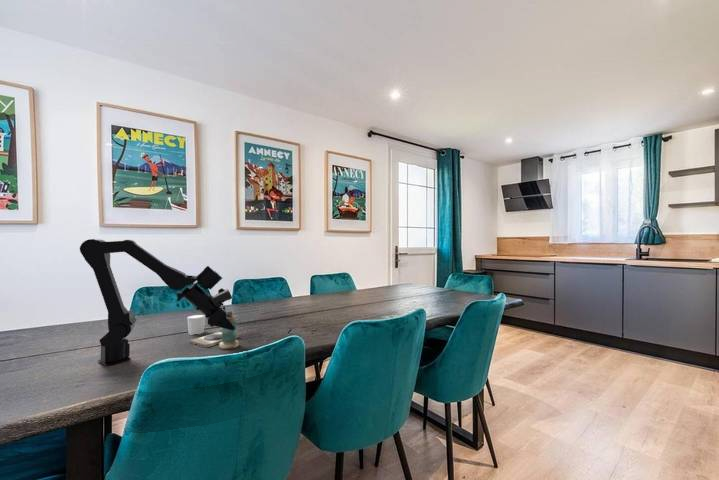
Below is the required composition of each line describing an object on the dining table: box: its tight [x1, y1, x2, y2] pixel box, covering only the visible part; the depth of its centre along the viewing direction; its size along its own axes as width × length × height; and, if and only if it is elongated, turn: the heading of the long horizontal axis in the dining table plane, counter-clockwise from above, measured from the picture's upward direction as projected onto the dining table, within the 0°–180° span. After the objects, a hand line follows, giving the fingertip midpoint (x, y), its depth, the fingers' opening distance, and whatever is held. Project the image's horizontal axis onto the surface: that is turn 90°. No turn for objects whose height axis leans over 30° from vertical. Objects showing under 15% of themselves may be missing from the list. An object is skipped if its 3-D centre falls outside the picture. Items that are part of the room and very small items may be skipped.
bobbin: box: [218, 310, 240, 350], centre depth 115 cm, size 7×7×12 cm
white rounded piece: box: [186, 314, 206, 336], centre depth 132 cm, size 7×7×7 cm
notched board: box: [189, 327, 239, 348], centre depth 123 cm, size 14×10×2 cm
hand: (233, 327), depth 116 cm, fingers closed on bobbin, 5 cm apart
